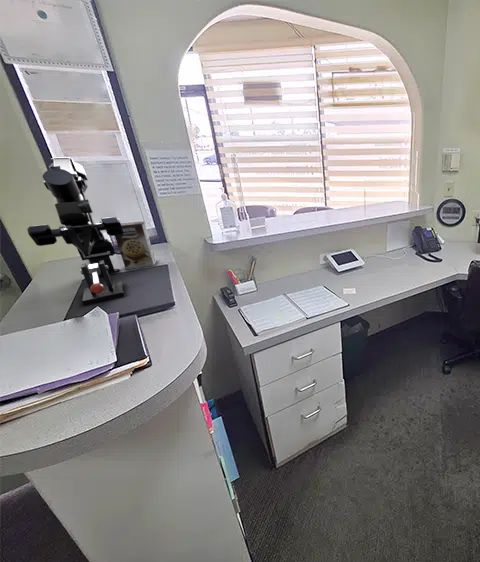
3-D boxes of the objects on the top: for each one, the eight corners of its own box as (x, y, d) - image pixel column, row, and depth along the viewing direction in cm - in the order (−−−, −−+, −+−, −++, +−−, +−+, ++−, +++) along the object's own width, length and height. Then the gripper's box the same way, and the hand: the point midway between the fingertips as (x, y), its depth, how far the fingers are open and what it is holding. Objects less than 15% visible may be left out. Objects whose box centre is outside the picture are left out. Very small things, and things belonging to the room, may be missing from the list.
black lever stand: (124, 296, 91) (112, 264, 87) (83, 305, 85) (69, 272, 82) (122, 285, 99) (111, 256, 96) (85, 293, 94) (73, 262, 90)
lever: (106, 293, 83) (102, 285, 82) (92, 296, 82) (88, 288, 80) (102, 270, 92) (98, 262, 90) (89, 272, 90) (86, 264, 89)
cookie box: (125, 269, 114) (109, 226, 108) (128, 265, 119) (114, 223, 113) (154, 265, 118) (141, 223, 112) (156, 261, 123) (144, 220, 117)
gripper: (11, 193, 76) (23, 245, 72) (108, 187, 87) (123, 232, 83) (31, 221, 84) (43, 269, 81) (117, 212, 95) (131, 254, 91)
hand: (86, 255), depth 84 cm, fingers closed
